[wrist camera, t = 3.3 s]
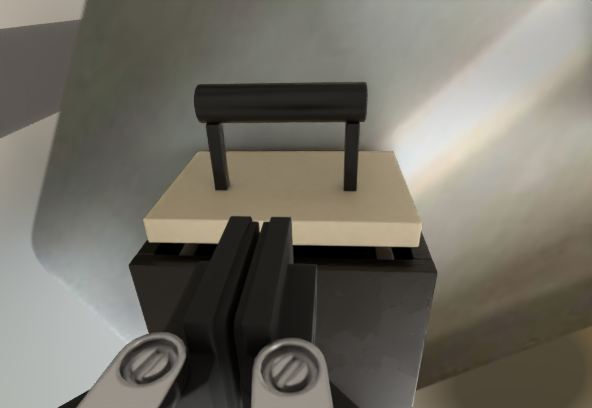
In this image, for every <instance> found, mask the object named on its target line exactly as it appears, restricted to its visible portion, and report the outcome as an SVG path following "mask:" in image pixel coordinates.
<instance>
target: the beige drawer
mask: <svg viewBox="0 0 592 408" xmlns="http://www.w3.org/2000/svg"><path fill="white" fill-rule="evenodd" d="M367 97H368V94H367V84H366V82H322V83H257V84H199V85H197V87H196V89H195V93H194V107H195V113H196V116H197V119H198V120H199V122H201V123H207V124H206V130H207V137H208V144H209V151H210V152H197V153H196V155H195V156H194V157H193V158H192V160H191V161H190V162H189V163H188V164H187V166H186V167H185V168H184V169H183V171H182V172H181V173H180V174H179V176H178V177H177V178H176V179H175V180H174V182H173V183H172V184H171V185H170V187H169V188H168V189H167V190H166V192H165V193H164V194H163V195H162V197H161V198H160V199H159V200H158V201H157V203H156V204H155V205H154V206H153V208H152V209H151V210H150V211H149V213H148V214H147V215H146V216H145V218H144V219H143V222H144V226H145V230H146V233H147V237H148V241H149V242H162V243H184V245H183V247H182V248H181V250H180V252H179V254H178V255H196V256H213V254H214V251H215V249H216V247H217V245H218V243H219V240H220V238H221V236H222V234H223V232H224V229H225V227H226V225H227V223H228V221H229V218H230V217H231V216H251V217H252V221H256V222H259V228H260V231H261V228H262V225H263V222H270V219H271V217H291V220H292V239H293V258H341V259H390V260H395V258H394V254H393V250H392V247H418V246H419V241H420V234H421V228H422V222H421V220H420V217H419V215H418V212H417V210H416V207H415V205H414V202H413V199H412V197H411V194H410V192H409V189H408V187H407V184H406V182H405V179H404V177H403V174H402V172H401V169H400V167H399V164H398V162H397V159H396V157H395V154H394V152H393V151H359V137H360V122H364V121H365V120H366V115H367ZM287 122H345V145H344V151H226V150H225V142H224V134H223V126H222V123H287Z"/></svg>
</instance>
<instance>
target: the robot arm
mask: <svg viewBox="0 0 592 408" xmlns="http://www.w3.org/2000/svg"><path fill="white" fill-rule="evenodd" d="M316 314H317V264H293V239H292V220H291V217H271V219H270V222H263V225H262V228H261V231H260V228H259V222H256V221H252V217H251V216H231V217H230V218H229V221H228V223H227V225H226V227H225V229H224V232H223V234H222V236H221V238H220V240H219V243H218V245H217V247H216V249H215V251H214V254H213V256H212V258H211V260H210V261H200V262H199V263H198V264H197V266H196V267H195V269H194V271H193V273H192V275H191V277H190V279H189V281H188V283H187V286H186V288H185V290H184V292H183V294H182V296H181V298H180V300H179V302H178V304H177V306H176V308H175V310H174V312H173V314H172V316H171V318H170V320H169V322H168V324H167V326H166V328H165V330H164V332H155V333H150V334H146V335H143V336H141V337H139V338H136V339H135V340H133V341H132V342H130V343H129V344H127V345H126V346H125V347H124V348H123V349H122V350H121V351H120V352H119V353H118V355H117V356H116V357H115V358H114V359H113V361H112V362H111V363H110V365H109V366H108V367H107V369H106V370H105V371H104V372H103V374H102V375H101V376H100V378H99V379H98V380H97V381H96V383H95V384H94V385H93V387H92V388H91V389H90V390H88V391H86V392H85V393H83V394H81V395H79V396H78V397H76V398H74V399H72V400H70V401H69V402H67V403H65V404H63V405H62V406H60V407H58V408H359V407H357V406H356V405H355V404H354V403H353V402H352V401H351V400H350V399H349V398H348V397H347V396H346V395H345V394H344V393H343V392H342V391H340V390H339V389H338V388H337V387H336V386H335V385H334V384H333V383H332V382H331V381H330V380H329V377H328V371H327V365H326V361H325V358H324V356H323V354H322V353H321V351H320V350H319V349H318V348H317V347H316V346H315V334H316Z"/></svg>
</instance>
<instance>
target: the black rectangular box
mask: <svg viewBox="0 0 592 408" xmlns="http://www.w3.org/2000/svg"><path fill="white" fill-rule="evenodd" d="M183 245H184V243H162V242H149V241H148V240H147V241H146V242H145V244H144V245H143V246H142V248H141V249H140V251H139V252H138V254H137V255H136V256H135V257H134V258H133V260H132V261H131V263H130V264H129V269H130V272H131V275H132V279H133V282H134V285H135V289H136V292H137V295H138V299H139V302H140V305H141V309H142V312H143V315H144V319H145V322H146V325H147V329H148V332H149V334H150V333H155V332H164V330H165V328H166V326H167V324H168V322H169V320H170V318H171V316H172V314H173V312H174V310H175V308H176V306H177V304H178V302H179V300H180V298H181V296H182V294H183V292H184V290H185V288H186V286H187V283H188V281H189V279H190V277H191V275H192V273H193V271H194V269H195V267H196V266H197V264H198V263H199V262H200V261H210V260H211V258H212V256H196V255H178V254H179V252H180V250H181V248H182V247H183ZM392 250H393V254H394V258H395V260H390V259H341V258H293V264H317V314H316V334H315V346H316V347H317V348H318V349H319V350H320V351H321V353H322V354H323V356H324V358H325V361H326V365H327V371H328V377H329V380H330V381H331V382H332V383H333V384H334V385H335V386H336V387H337V388H338V389H339V390H340V391H342V392H343V393H344V394H345V395H346V396H347V397H348V398H349V399H350V400H351V401H352V402H353V403H354V404H355V405H356V406H357V407H359V408H412V406H413V402H414V396H415V391H416V385H417V380H418V375H419V369H420V364H421V358H422V353H423V348H424V342H425V337H426V331H427V326H428V321H429V315H430V310H431V304H432V299H433V294H434V288H435V283H436V277H437V270H436V268H435V265H434V262H433V261H432V258H431V255H430V252H429V250H428V247H427V245H426V242H425V239H424V237H423V234H422V232H421V234H420V241H419V246H418V247H392Z"/></svg>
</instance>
